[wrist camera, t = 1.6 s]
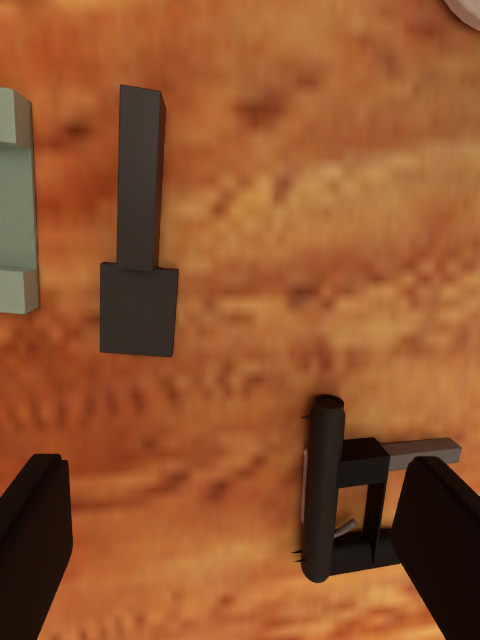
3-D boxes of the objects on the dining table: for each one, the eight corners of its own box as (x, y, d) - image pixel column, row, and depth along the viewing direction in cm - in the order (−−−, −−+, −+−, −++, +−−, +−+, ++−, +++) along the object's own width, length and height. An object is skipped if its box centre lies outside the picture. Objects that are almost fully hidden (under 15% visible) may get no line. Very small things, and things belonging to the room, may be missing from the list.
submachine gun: (480, 396, 29) (306, 412, 26) (443, 568, 34) (295, 594, 32) (452, 379, 32) (293, 392, 30) (421, 539, 38) (285, 561, 35)
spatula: (105, 97, 22) (91, 79, 19) (189, 110, 23) (187, 95, 20) (103, 348, 27) (91, 361, 24) (173, 353, 27) (169, 366, 25)
